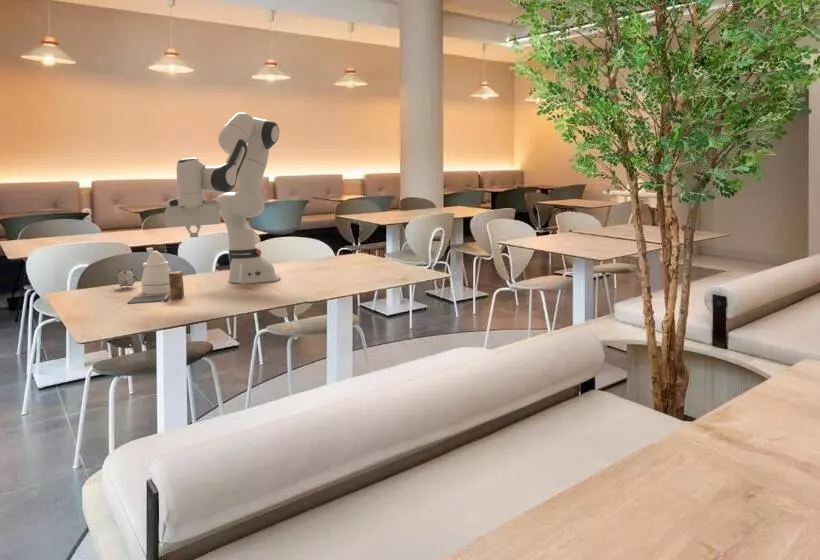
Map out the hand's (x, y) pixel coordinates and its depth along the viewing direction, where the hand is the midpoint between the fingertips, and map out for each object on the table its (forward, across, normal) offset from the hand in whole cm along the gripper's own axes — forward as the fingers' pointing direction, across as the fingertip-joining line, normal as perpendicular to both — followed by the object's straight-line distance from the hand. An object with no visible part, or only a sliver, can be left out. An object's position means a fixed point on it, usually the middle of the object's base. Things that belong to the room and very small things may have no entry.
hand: (194, 237), depth 244 cm
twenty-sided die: (+23, +33, -32) cm, 52 cm away
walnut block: (+23, +8, 0) cm, 24 cm away
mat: (+23, +19, 0) cm, 30 cm away
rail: (+23, +12, 0) cm, 26 cm away
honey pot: (+23, +18, -19) cm, 35 cm away
